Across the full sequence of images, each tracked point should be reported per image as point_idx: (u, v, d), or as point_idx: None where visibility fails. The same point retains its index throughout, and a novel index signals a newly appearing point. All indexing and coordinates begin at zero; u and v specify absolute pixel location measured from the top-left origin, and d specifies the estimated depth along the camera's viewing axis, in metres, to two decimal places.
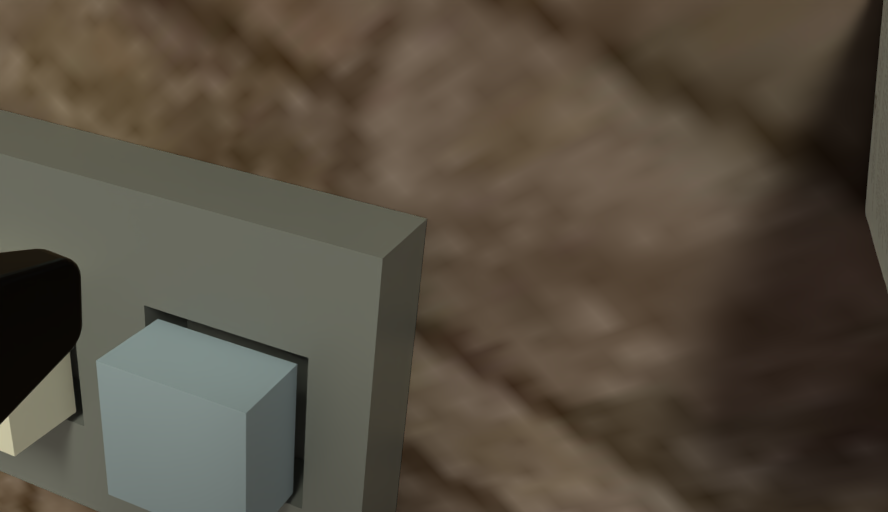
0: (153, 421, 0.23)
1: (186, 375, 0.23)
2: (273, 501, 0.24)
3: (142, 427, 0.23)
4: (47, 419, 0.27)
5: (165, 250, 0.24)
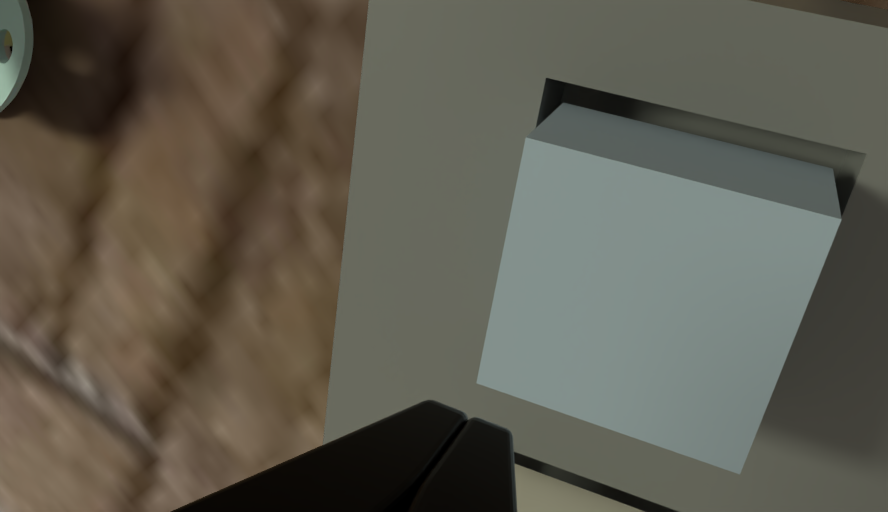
0: (569, 321, 0.14)
1: None
2: (797, 179, 0.13)
3: (583, 347, 0.14)
4: None
5: (410, 269, 0.18)
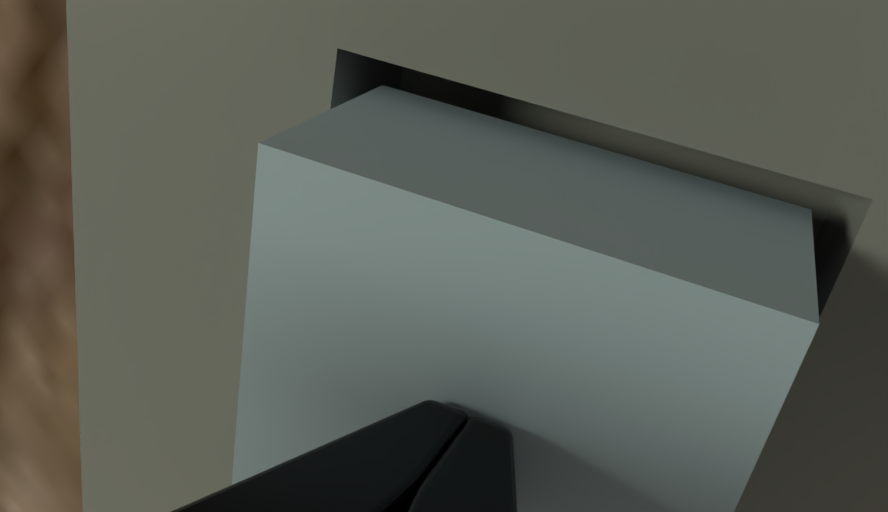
0: None
1: None
2: (746, 230, 0.07)
3: None
4: None
5: (168, 341, 0.12)
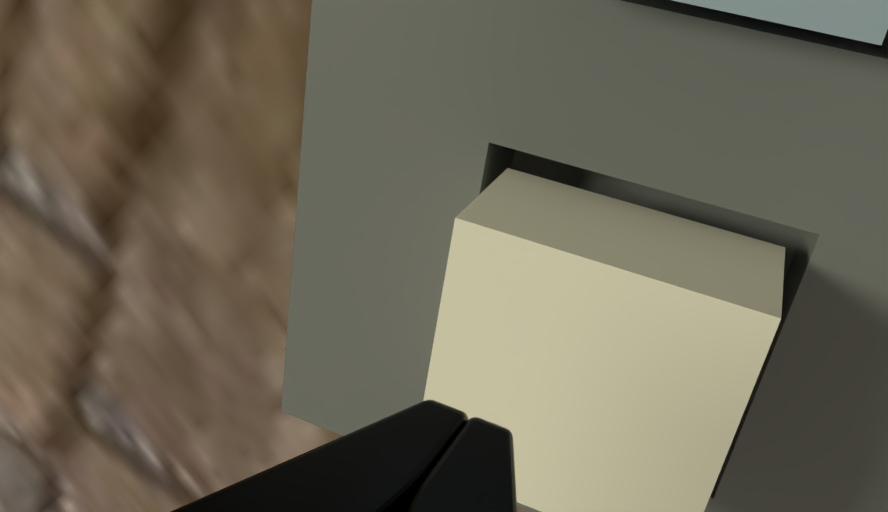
0: None
1: None
2: None
3: None
4: (750, 267, 0.12)
5: None
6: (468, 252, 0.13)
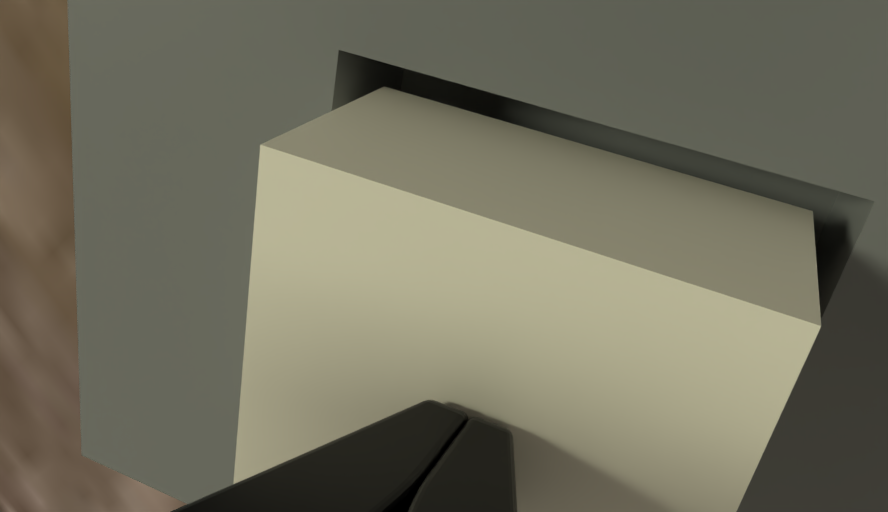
0: None
1: None
2: None
3: None
4: (760, 238, 0.07)
5: None
6: (285, 205, 0.07)
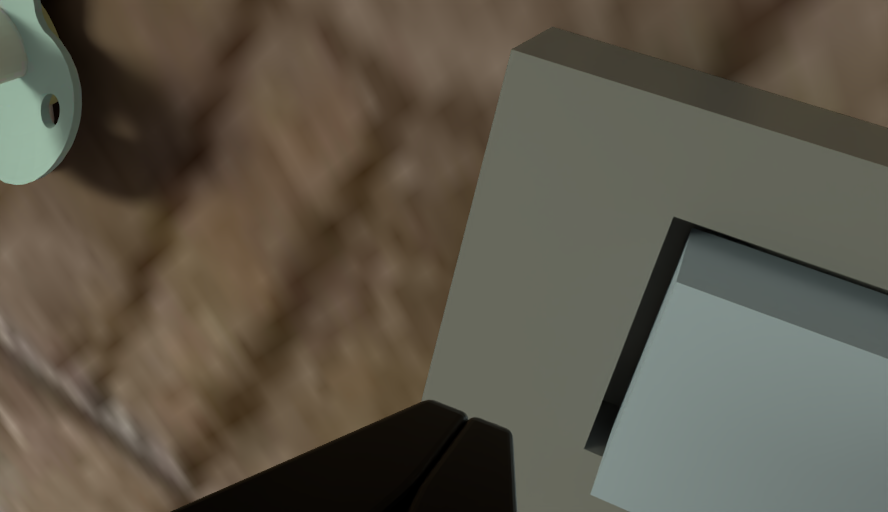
0: (695, 451, 0.15)
1: (637, 374, 0.15)
2: None
3: (706, 476, 0.15)
4: None
5: (503, 379, 0.18)
6: None
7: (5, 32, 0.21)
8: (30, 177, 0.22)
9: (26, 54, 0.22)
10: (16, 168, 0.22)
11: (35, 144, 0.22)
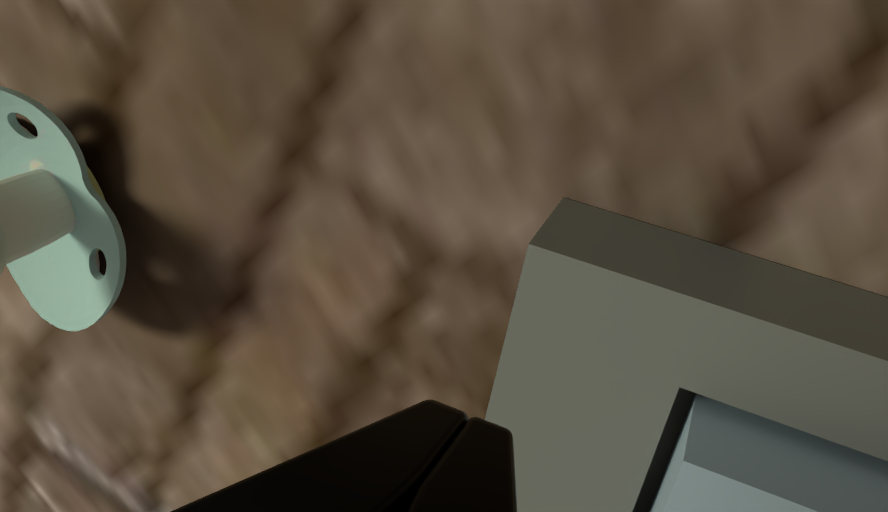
0: None
1: None
2: None
3: None
4: None
5: None
6: None
7: (56, 196, 0.24)
8: (81, 324, 0.24)
9: (74, 212, 0.24)
10: (68, 315, 0.24)
11: (85, 293, 0.24)
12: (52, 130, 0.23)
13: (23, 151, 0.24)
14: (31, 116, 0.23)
